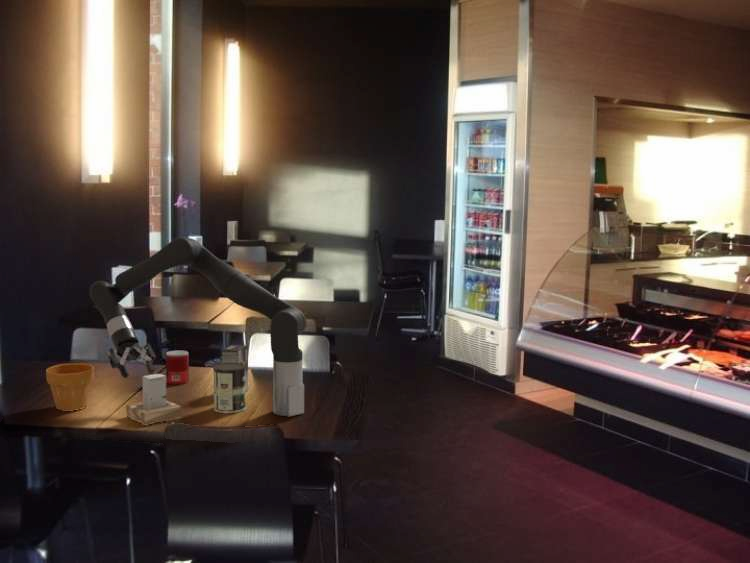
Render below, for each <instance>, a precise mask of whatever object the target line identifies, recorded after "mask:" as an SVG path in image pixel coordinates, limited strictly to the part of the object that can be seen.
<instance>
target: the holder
mask: <svg viewBox="0 0 750 563" xmlns="http://www.w3.org/2000/svg"><path fill="white" fill-rule="evenodd" d="M125 407H126V417H127V416H129V417H131V418H134V419H136V420H138V421H140V422H142V423H144V424H149V423H155V422H160V421H161V423H163V422H162V421H166V422H169V421H170V422H171V421H174V420H179V419H182V406H181V405H179V404H176V403H174V402H172V401H169V400H167V399H166V407H162V408H157V409H152V410H147V411H145V410H143V401H139V402H134V403H130V404H126V405H125Z"/></svg>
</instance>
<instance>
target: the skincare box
mask: <svg viewBox="0 0 750 563" xmlns="http://www.w3.org/2000/svg"><path fill="white" fill-rule="evenodd" d="M166 400H167V381H166V374H165V375H164V374H162V373H155V374H154V373H152V374H149V375H143V376H142V402H143V410H145V411H147V410H152V409H157V408H162V407H166Z"/></svg>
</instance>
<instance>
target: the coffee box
mask: <svg viewBox="0 0 750 563" xmlns="http://www.w3.org/2000/svg"><path fill="white" fill-rule="evenodd" d="M248 349H249V346H248V345H242V344H230V345H228V346H227V347H225V348H223V349H221V350H220V351H221V364H222V363H240V364H244V365H245V366H246V368H245V393H246V392H248V391H249V350H248Z"/></svg>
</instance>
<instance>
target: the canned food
mask: <svg viewBox="0 0 750 563" xmlns="http://www.w3.org/2000/svg"><path fill="white" fill-rule="evenodd" d="M189 359H190V357H189V352H188V351H187V350H179V349H178V350H170V351H167V352H166V353H165V376H166V384H168V385H171V386H179V385H180V386H182V385H185V384H188V382H189V380H190V369H189V368H190V366H189V363H190V362H189V361H190V360H189Z"/></svg>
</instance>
